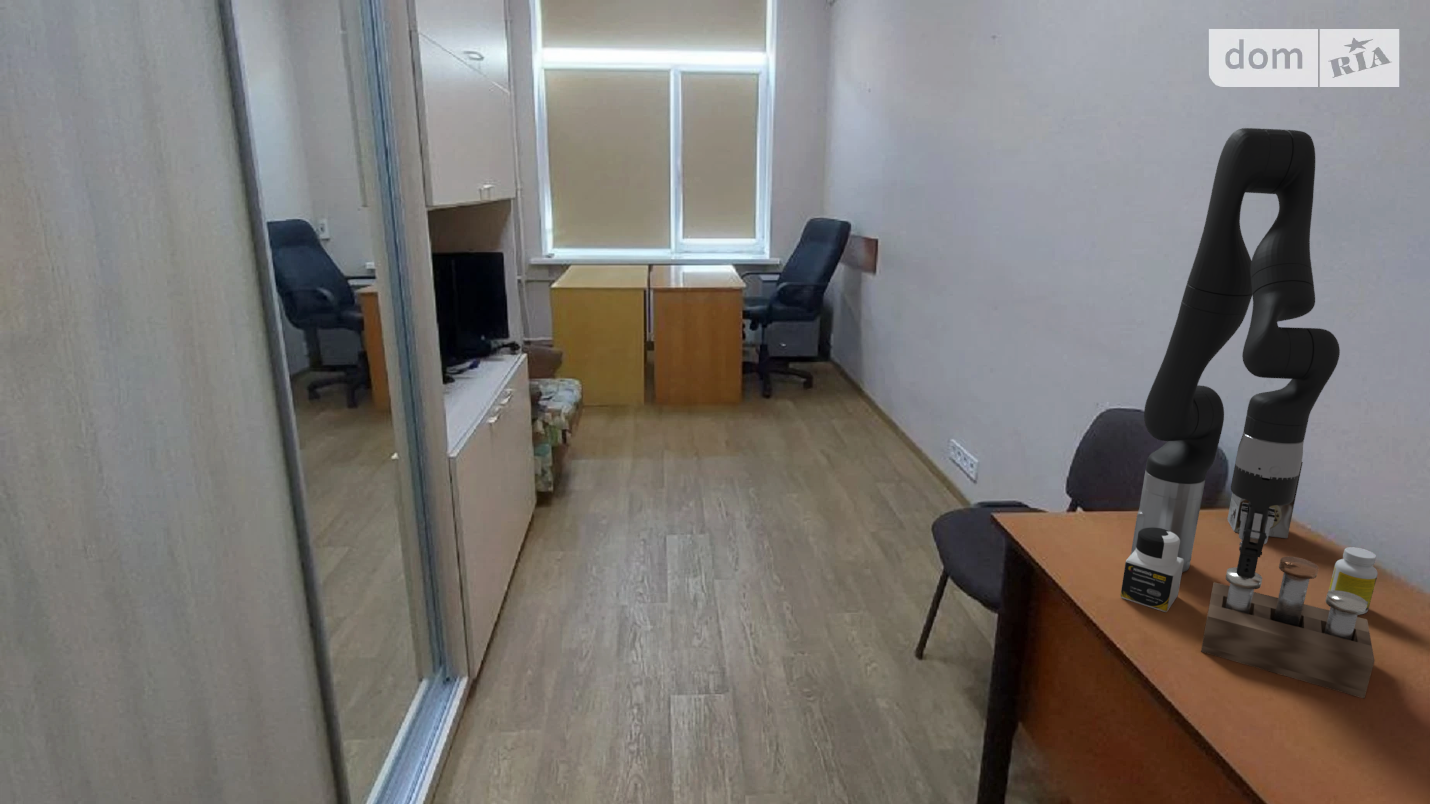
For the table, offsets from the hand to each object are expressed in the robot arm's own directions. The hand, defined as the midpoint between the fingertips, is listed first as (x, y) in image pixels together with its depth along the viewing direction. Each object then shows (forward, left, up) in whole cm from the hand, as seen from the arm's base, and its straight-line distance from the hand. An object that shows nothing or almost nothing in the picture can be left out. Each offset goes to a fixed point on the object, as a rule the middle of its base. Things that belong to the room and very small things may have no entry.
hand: (1245, 574), depth 115 cm
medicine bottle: (-12, +7, -11) cm, 18 cm away
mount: (+6, 0, -11) cm, 13 cm away
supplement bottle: (+15, +22, -11) cm, 29 cm away
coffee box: (+2, +48, -11) cm, 49 cm away
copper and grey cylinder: (+6, 0, -7) cm, 9 cm away
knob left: (0, 0, -10) cm, 10 cm away
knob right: (+12, 0, -10) cm, 16 cm away
